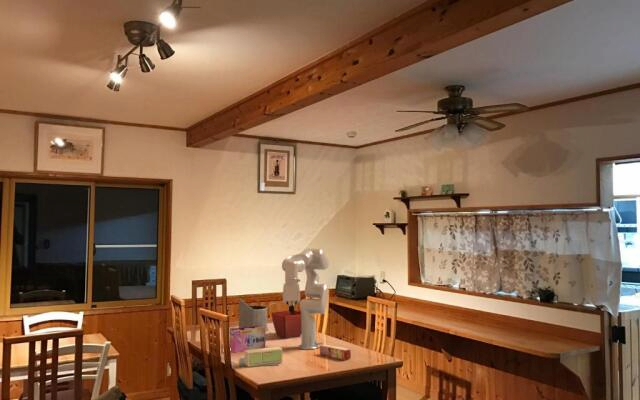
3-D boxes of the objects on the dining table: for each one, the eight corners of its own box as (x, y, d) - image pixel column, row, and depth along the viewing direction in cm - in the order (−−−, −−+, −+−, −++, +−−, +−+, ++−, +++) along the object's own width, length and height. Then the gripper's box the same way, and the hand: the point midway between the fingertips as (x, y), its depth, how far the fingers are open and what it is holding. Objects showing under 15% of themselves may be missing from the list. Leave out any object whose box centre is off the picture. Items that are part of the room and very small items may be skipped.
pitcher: (235, 328, 399) (235, 296, 400) (275, 326, 409) (275, 294, 410) (240, 334, 377) (240, 300, 378) (282, 332, 387) (282, 298, 388)
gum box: (261, 345, 343) (261, 325, 344) (267, 347, 336) (267, 326, 337) (228, 350, 329) (228, 329, 330) (234, 353, 323) (234, 331, 323)
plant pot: (307, 337, 369) (307, 313, 370) (283, 340, 358) (284, 316, 359) (293, 332, 385) (293, 309, 385) (270, 335, 374) (270, 312, 375)
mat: (276, 357, 311) (276, 356, 311) (278, 365, 293) (278, 364, 293) (240, 358, 308) (240, 358, 308) (239, 367, 290) (239, 366, 290)
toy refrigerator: (283, 363, 298) (248, 367, 289) (278, 360, 305) (244, 363, 295) (283, 349, 298) (248, 352, 289) (278, 346, 305) (244, 349, 296)
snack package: (318, 355, 318) (318, 344, 318) (326, 353, 323) (326, 342, 323) (344, 361, 303) (344, 350, 303) (351, 359, 308) (351, 348, 308)
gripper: (303, 280, 313) (303, 311, 312) (278, 281, 310) (278, 311, 310) (304, 282, 305) (304, 313, 304) (279, 282, 303) (279, 314, 302)
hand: (291, 312), depth 307 cm, fingers closed
